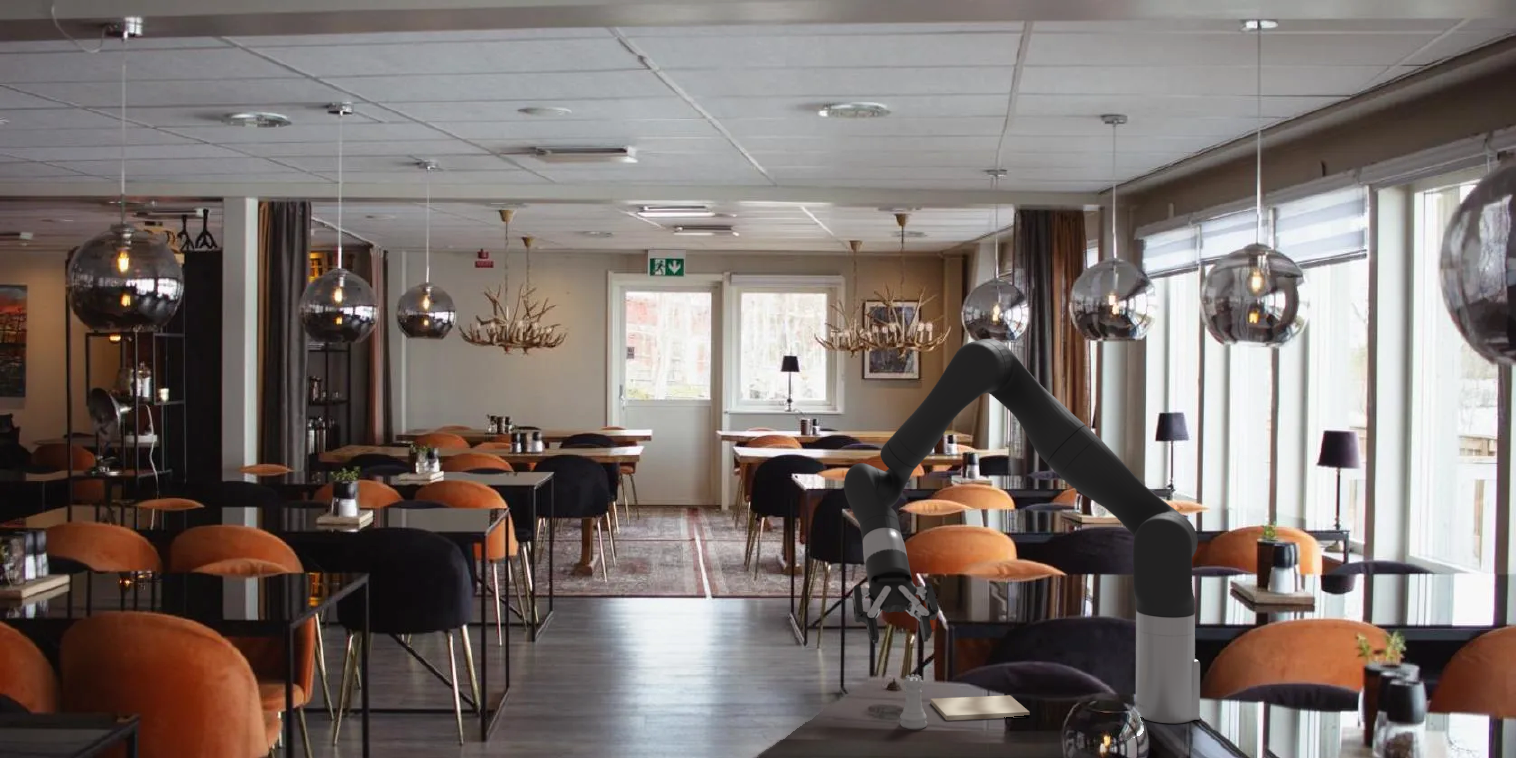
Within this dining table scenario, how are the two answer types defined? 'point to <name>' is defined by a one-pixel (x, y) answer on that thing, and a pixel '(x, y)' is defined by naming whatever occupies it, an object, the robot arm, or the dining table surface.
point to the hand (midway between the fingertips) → (901, 640)
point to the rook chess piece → (913, 704)
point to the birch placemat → (978, 707)
